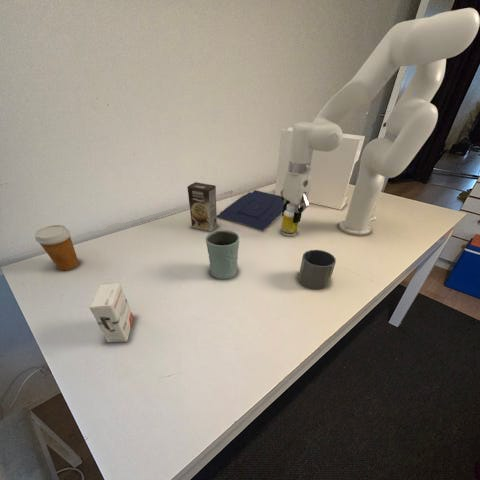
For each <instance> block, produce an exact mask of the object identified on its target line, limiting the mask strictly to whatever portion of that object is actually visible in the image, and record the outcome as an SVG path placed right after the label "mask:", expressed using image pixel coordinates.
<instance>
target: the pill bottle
mask: <svg viewBox="0 0 480 480" xmlns="http://www.w3.org/2000/svg"><path fill="white" fill-rule="evenodd" d="M298 206H299V207H300V205H298ZM286 209H287V210H285V211H284V215H283V216H282V223H281V234H282V235H284V236H287V237H293V236H295V235H296V234H297V232H298V226H299V222H297V223H293V218H294V212H296V208H295V204H294V203H292V202H291V203H289V204H287V208H286Z"/></svg>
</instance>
